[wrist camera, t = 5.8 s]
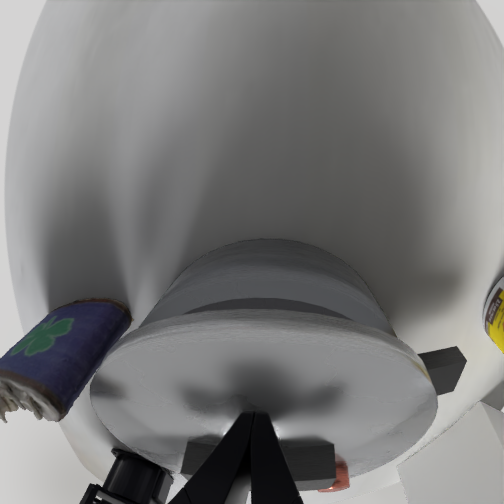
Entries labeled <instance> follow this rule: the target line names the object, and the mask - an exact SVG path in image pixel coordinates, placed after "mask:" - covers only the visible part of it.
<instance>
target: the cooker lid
mask: <svg viewBox="0 0 504 504" xmlns="http://www.w3.org/2000/svg"><path fill="white" fill-rule="evenodd" d="M90 398H91V403H92V406H93V408H94V410H95V412H96V414H97V416H98V417H99V419H100V420H101V422H102V423H103V424H104V426H105V427H106V428H107V429H108V430H109V431H110V432H111V433H112V434H113V435H114V436H115V437H116V438H117V439H118V440H120V441H121V442H122V443H123V444H125V445H126V446H127V447H129V448H130V449H132V450H133V451H135V452H136V453H138V454H139V455H141V456H143V457H144V458H146V459H148V460H150V461H152V462H154V463H156V464H158V465H160V466H162V467H164V468H167V469H169V470H172V471H174V472H177V473H179V474H182V475H183V476H184V477H185V478H186V479H187V480H188V481H189V479H190V478H191V477H192V476H193V474H194V473H195V472H196V471H197V470H198V468H199V467H200V466H201V465H202V463H203V462H204V461H205V460H206V458H207V457H208V456H209V455H210V453H211V452H212V451H213V449H214V448H215V447H216V445H217V444H218V443H219V442H220V440H221V439H222V438H223V436H224V435H225V434H226V432H227V431H228V430H229V428H230V427H231V425H232V424H233V423H234V421H235V420H236V419H237V417H238V416H239V414H240V413H241V412H254V414H255V413H257V412H267V413H269V416H270V418H271V421H272V424H273V427H274V429H275V432H276V435H277V437H278V440H279V443H280V445H281V448H282V451H283V453H284V456H285V458H286V461H287V464H288V466H289V469H290V471H291V474H292V476H293V479H294V481H295V484H296V486H297V489H298V491H308V490H318V492H335V491H340V490H344V489H347V488H349V487H350V485H349V478H352V477H355V476H358V475H361V474H364V473H366V472H369V471H371V470H374V469H376V468H378V467H380V466H382V465H384V464H386V463H388V462H390V461H392V460H393V459H395V458H397V457H398V456H400V455H401V454H403V453H404V452H406V451H407V450H408V449H409V448H411V447H412V446H413V445H414V444H416V443H417V442H418V441H419V440H420V439H421V438H422V437H423V435H424V434H425V433H426V432H427V430H428V429H429V428H430V426H431V425H432V423H433V421H434V419H435V416H436V413H437V408H438V400H437V395H436V392H435V389H434V387H433V384H432V381H431V379H430V376H429V374H428V371H427V369H426V367H425V365H424V363H423V361H422V359H421V358H420V357H419V356H418V355H417V354H416V352H415V351H414V350H413V349H412V348H410V347H409V346H408V345H406V344H405V343H403V342H402V341H401V340H399V339H398V338H396V337H394V336H392V335H390V334H388V333H385V332H383V331H381V330H379V329H377V328H374V327H371V326H367V325H364V324H361V323H358V322H355V321H352V320H347V319H342V318H337V317H332V316H327V315H322V314H317V313H306V312H297V311H288V310H265V309H235V310H218V311H205V312H198V313H192V314H186V315H179V316H174V317H170V318H167V319H163V320H160V321H156V322H152V323H149V324H147V325H145V326H143V327H140V328H138V329H136V330H133V331H131V332H130V333H128V334H127V335H125V336H124V337H122V338H121V339H120V340H118V341H117V342H116V343H115V344H114V345H113V346H112V347H111V349H110V350H109V351H108V352H107V354H106V356H105V357H104V359H103V361H102V363H101V365H100V366H99V368H98V370H97V372H96V374H95V376H94V378H93V380H92V383H91V385H90ZM249 491H251V483H250V488H249Z"/></svg>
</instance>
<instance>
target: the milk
mask: <svg viewBox="0 0 504 504" xmlns="http://www.w3.org/2000/svg"><path fill="white" fill-rule="evenodd" d="M397 469H398V472H399V476H400V479H401V482H402V485H403V488H404V491H405V495H406V498H407V501H408V504H504V413H503V412H501V411H499V410H497V409H495V408H493V407H491V406H489V405H487V404H485V403H483V402H481V401H479V402H478V403H477V404H476V405H475V406H474V407H472V408H471V409H470V410H469V411H468V412H467V413H466V414H465V415H464V416H463V417H462V418H460V419H459V420H458V421H457V422H456V423H455V424H453V425H452V426H451V427H450V428H449V429H447V430H446V431H445V432H444V433H443V434H441V435H440V436H439V437H437V438H436V439H435V440H434V441H432V442H431V443H430V444H428V445H427V446H426V447H424V448H423V449H421V450H420V451H419V452H417V453H416V454H414V455H413V456H411V457H410V458H408V459H407V460H405V461H404V462H402V463H401V464H399V465H397Z"/></svg>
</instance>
